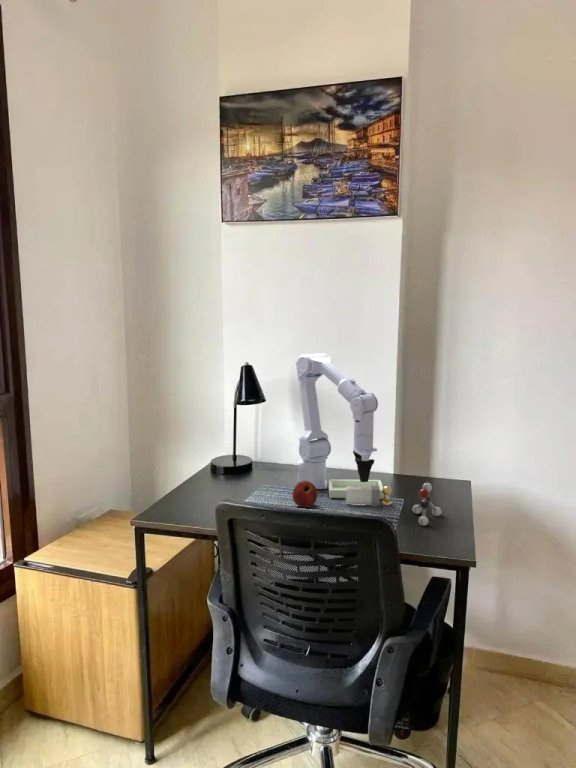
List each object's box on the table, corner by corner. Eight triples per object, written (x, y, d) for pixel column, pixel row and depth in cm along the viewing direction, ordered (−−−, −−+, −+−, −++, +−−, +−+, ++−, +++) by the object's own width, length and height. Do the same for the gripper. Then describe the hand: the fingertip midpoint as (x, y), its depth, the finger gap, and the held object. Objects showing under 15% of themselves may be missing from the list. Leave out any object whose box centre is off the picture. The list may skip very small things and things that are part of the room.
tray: (329, 498, 184) (329, 490, 183) (328, 487, 195) (328, 479, 194) (384, 499, 183) (384, 490, 182) (380, 488, 194) (380, 479, 193)
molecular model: (441, 514, 170) (442, 479, 168) (438, 530, 159) (439, 492, 157) (412, 511, 173) (413, 476, 171) (407, 526, 161) (408, 488, 160)
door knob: (382, 505, 178) (382, 487, 177) (381, 502, 180) (381, 484, 180) (392, 505, 177) (392, 487, 177) (390, 502, 180) (391, 484, 180)
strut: (346, 505, 178) (346, 489, 177) (345, 501, 181) (345, 485, 181) (379, 506, 177) (380, 490, 176) (378, 501, 181) (378, 486, 180)
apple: (291, 510, 173) (291, 484, 172) (293, 501, 181) (293, 476, 180) (316, 511, 173) (317, 484, 172) (317, 502, 181) (317, 477, 180)
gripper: (379, 439, 169) (378, 485, 171) (374, 428, 183) (373, 471, 185) (355, 439, 169) (354, 485, 171) (351, 428, 183) (351, 470, 185)
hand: (363, 477), depth 178 cm, fingers open, 7 cm apart
